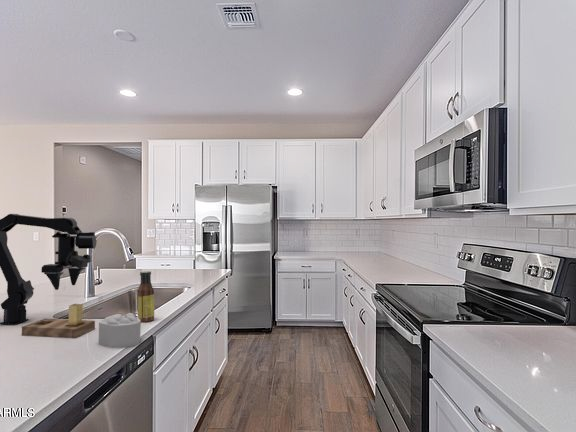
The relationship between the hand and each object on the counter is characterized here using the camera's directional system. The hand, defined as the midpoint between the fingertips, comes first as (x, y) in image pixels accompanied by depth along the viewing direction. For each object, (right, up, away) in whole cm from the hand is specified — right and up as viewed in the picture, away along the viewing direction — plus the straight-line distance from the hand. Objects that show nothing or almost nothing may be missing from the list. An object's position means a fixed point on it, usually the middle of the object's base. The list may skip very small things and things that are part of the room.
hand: (65, 287), depth 138 cm
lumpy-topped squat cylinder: (+34, -14, -23) cm, 43 cm away
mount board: (+8, -13, -15) cm, 21 cm away
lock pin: (+14, -13, -15) cm, 24 cm away
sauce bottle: (+32, -14, +1) cm, 35 cm away
